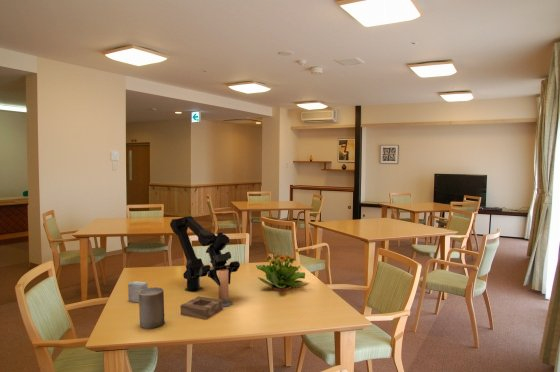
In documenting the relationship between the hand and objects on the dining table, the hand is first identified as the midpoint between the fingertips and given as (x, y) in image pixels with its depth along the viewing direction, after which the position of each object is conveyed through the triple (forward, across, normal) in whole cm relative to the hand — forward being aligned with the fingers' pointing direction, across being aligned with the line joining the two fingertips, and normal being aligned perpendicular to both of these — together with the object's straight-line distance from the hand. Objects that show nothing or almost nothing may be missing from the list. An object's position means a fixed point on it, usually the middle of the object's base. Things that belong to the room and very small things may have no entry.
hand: (224, 284), depth 183 cm
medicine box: (-11, -33, +25) cm, 43 cm away
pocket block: (+9, -12, +5) cm, 15 cm away
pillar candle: (+11, -34, +3) cm, 36 cm away
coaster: (+6, 0, +8) cm, 10 cm away
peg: (+4, 0, +6) cm, 7 cm away
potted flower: (+1, +34, +12) cm, 36 cm away
